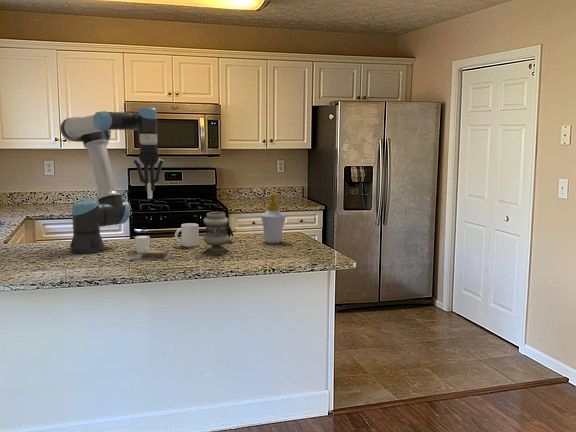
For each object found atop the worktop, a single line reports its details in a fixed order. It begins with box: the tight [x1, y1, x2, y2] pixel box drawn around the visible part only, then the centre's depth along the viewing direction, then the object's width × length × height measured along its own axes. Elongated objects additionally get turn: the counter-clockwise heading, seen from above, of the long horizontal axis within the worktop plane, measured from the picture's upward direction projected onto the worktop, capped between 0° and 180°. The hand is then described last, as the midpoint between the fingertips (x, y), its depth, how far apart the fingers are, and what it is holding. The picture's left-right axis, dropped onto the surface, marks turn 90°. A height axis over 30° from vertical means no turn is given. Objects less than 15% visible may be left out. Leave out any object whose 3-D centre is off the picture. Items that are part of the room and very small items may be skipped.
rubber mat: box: [130, 253, 173, 261], centre depth 253 cm, size 16×10×1 cm, turn 90°
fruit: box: [226, 224, 237, 238], centre depth 288 cm, size 10×11×15 cm
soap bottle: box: [260, 193, 287, 244], centre depth 288 cm, size 13×13×25 cm
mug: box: [174, 222, 200, 248], centre depth 278 cm, size 12×8×10 cm
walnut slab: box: [141, 249, 168, 258], centre depth 252 cm, size 2×6×10 cm
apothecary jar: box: [203, 211, 231, 254], centre depth 266 cm, size 12×12×18 cm
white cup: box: [134, 235, 151, 254], centre depth 264 cm, size 7×7×7 cm
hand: (150, 198), depth 249 cm, fingers closed
